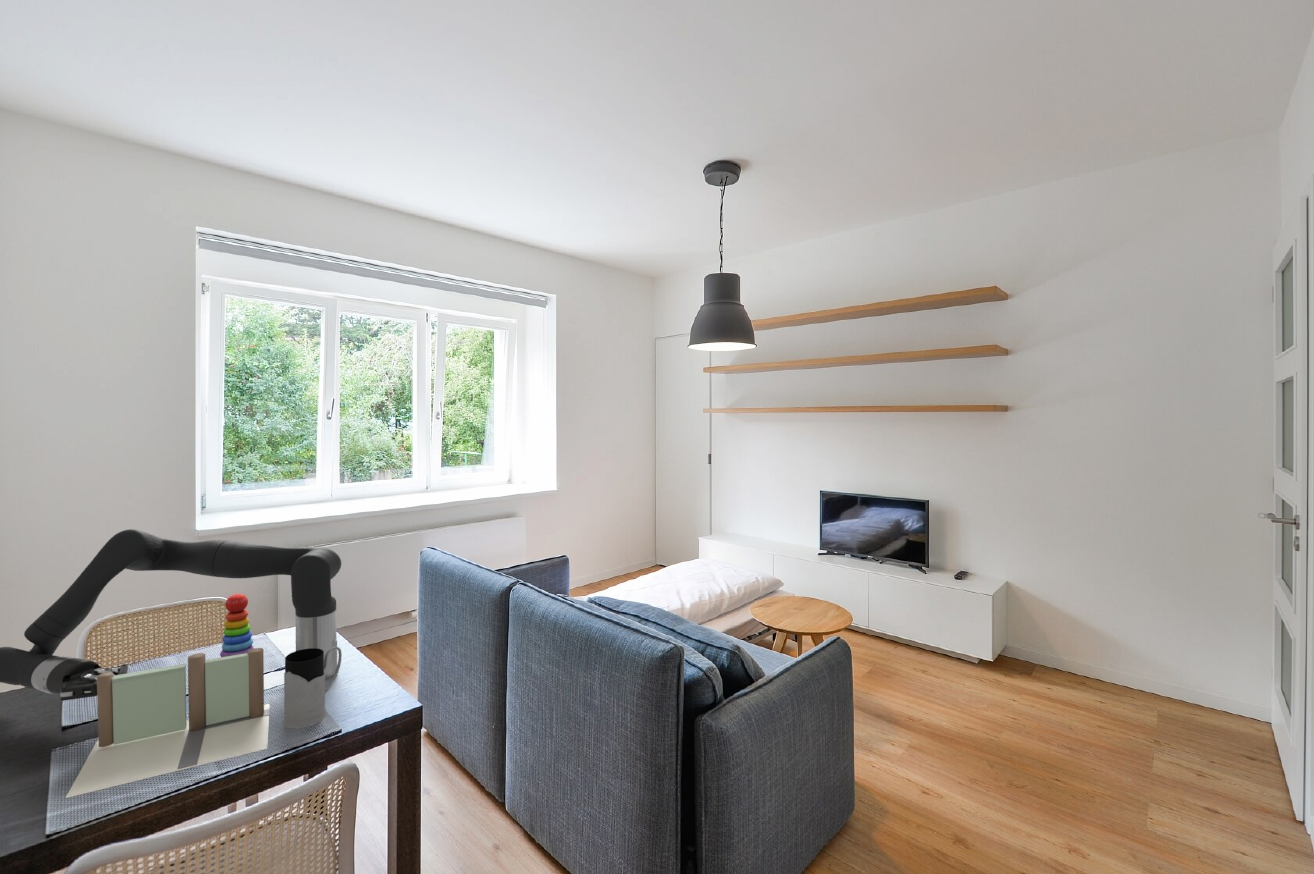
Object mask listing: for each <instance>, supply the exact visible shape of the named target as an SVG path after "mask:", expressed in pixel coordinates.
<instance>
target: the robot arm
mask: <svg viewBox="0 0 1314 874" xmlns="http://www.w3.org/2000/svg"><path fill="white" fill-rule="evenodd" d="M341 568H342V560H341V558H340V555H338V554H337V553H336V552H335V551H334V550H333V549H330V548H327V547H326V548H325V547H284V546H278V545H270V544H263V543H252V542H246V541H245V542H244V541H238V540H237V541H236V540H224V539H223V540H222V539H221V540H220V539H217V540H216V539H213V540H205V541H196V542H195V541H194V542H191V541H190V542H187V541H180V540H176V539H175V540H174V539H168V538H163V537H161V536H156V535H154V534H151V533H148V532H145V531H143V530H139V529H133V528H131V529H124V530H122V531H119V532H117V533H116V534H114V535H113V536H112V537H111V538H110V539H109V540H107V542H106V543H105V544H103V546H102V547H101V548H100V550H99V551H97V554H96V555H95V556H94V558H92V560H91V561H90V562H89V564H88V565H87V566H86V567H85V568H84V570H83V571H82V572H81V573H80V574H79V576H78V577H77V578H76V579H75V580H74V581H73V583H72V584H71V585H70V586H69V587H68V588H67V589H66V591H65V592H63V594H61V596H60V597H59V598H58V599H57V600H56V601H55V602H54V603H52V604H51V605H50V606H49V607H48V609H46V610H45V611H44V612H43V613H41V615H40V616H38V617H37V618H36V619H35V620H34V621H33V622H32V623H31V624H29V626H28V627H27V628H26V629H25V631H24V633H23V636H24V637H25V639H26V640H27V641H29V642H30V643H31V644H33V646H32V648H31V649H29V650H24V649H20V648H18V647H12V646H1V647H0V683H1V684H7V685H14V686H22V687H25V688H27V689H33V690H37V691H38V690H39V691H41V692H43V693H46V694H50V695H51V694H52V695H55V696H60V701H69V700H79V699H85V698H94V697H97V676H98V675H100V674H103V673H108V672H112V673H113V677H114V676H115V675H121V674H127V673H129V664H128V663H125V664H124V663H123V664H121V665H120V667H117V669H112V668H111V667H102V666H100V664H99V663H97V662H96V661H94V660H90V659H89V660H88V659H83V658H78V657H72V656H58V655H54V653H55V652H56V650H57V649H58V647H59V646H60V644H61V643H62V642H63V641H65V639H66V638H67V637H68V636H69V635H70V634H71V633H72V632H73V631H75V629H77V628H78V626H79V625H80V624H81V623H82V622H83V621H84V620H85V619H86V618H87V616H88V615H89V614H90V613H91V611H92V609H93V608H94V606H95V603H96V602H97V600H98V598H99V596H100V594H101V593H102V591H103V590H104V588H106V586H107V585H109V582H111V581H112V580H113V579H114V578H115V577H116V576H118V575H119V574H121V572H123V571H124V570H130V571H137V572H143V571H144V572H146V571H149V572H151V571H177V572H186V573H190V574H195V575H200V576H201V575H202V576H206V577H208V576H209V577H212V578H213V577H214V578H215V577H216V578H224V579H225V578H226V579H252V578H260V577H261V578H262V577H267V576H268V577H269V576H278V575H279V576H284V575H285V576H290V585H291V586H290V588H291V602H292V606H293V607H294V609H295V651H298V650H302V649H308V648H318V649H322V650H323V651H324V658H325V655H326V653H327V651H328V650H329V649H330V648H332V647H338V639H337V599H336V598H335V597H334V596H332V586H331V580H332V579H334V577H336V575H337V574H338V573H339V572H340V570H341ZM337 665H338V649H337V648H335V649H333V650H332V651H331V652H330V653H329V655H328V659H327V667H326V669H325V670H324V673H325V681H326V680H328V679H330V678H333V676H334V674H335V671H336V668H337Z"/></svg>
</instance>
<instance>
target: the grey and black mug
mask: <svg viewBox="0 0 1314 874" xmlns="http://www.w3.org/2000/svg"><path fill="white" fill-rule="evenodd" d="M335 648H337V654H338V657H337V668H336V671H335V674H334V676H333V677H331V679H330V682H329V683H328V684H327V686H326V683H325V681H326V680H325V673H324V670H325V669H326V667H327V659H328V655H329V653H330V652H331V651H332V650H333V649H335ZM342 656H343V655H342V650H341V648H340V647H339V646H337V647H332V648H330V649H329V650H328V651H327V653H326V655H325V658H324V651H323V650H322V649H318V648H308V649H302V650H298V651H296V650H295V651H293V652H290V653H288V654H287V655H286V656H285V658H284V665H285V666H284V673H283V682H284V685H283V686H284V687H283V689H284V690H283V691H284V697H283V698H284V700H283V701H284V718H283V722H282V725H283V726H284V727H285V728H287V729H288V728H289V729H301V728H306V727H307V728H308V727H310V726H312V725H315V724H316V725H317V724H318V723H320V722H321V721H323V720H324V719H325V718H326V716H327V711H326V694H327V693H328V691H329V689H330V688H331V686H332V685H333V683H334V682H335V680H336V678H337V676H338V673H339V671H340V667H341V664H342V658H343V657H342ZM325 686H326V687H325Z"/></svg>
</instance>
